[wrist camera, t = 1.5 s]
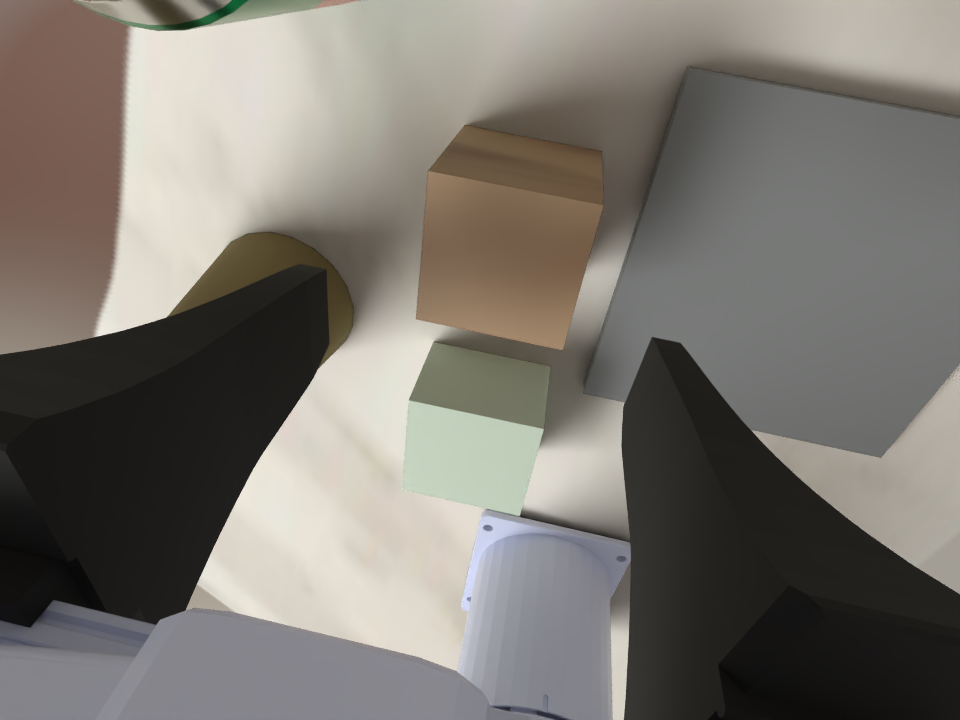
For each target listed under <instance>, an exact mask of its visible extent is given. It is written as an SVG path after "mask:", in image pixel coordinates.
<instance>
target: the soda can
mask: <svg viewBox="0 0 960 720" xmlns="http://www.w3.org/2000/svg"><path fill="white" fill-rule="evenodd" d="M72 1H74V2H76V3H78V4H80V5H82V6H84V7H86V8H87V9H89V10H91V11H93V12H95V13H97V14H99V15H101V16H103V17H106V18H109V19H111V20H114V21H117V22H120V23H123V24H126V25H128V26H133V27H139V28H144V29H150V30H156V31H174V30H190V29H196V28H202V27H208V26H214V25H220V24H226V23H232V22H238V21H244V20H250V19H256V18H262V17H268V16H274V15H280V14H286V13H292V12H298V11H304V10H310V9H316V8H322V7H328V6H334V5H340V4H346V3H352V2H358V1H364V0H72Z"/></svg>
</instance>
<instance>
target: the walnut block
mask: <svg viewBox="0 0 960 720" xmlns="http://www.w3.org/2000/svg"><path fill="white" fill-rule="evenodd" d="M603 206H604V200H603V171H602V151H597V150H592V149H586V148H581V147H576V146H571V145H566V144H560V143H555V142H550V141H545V140H540V139H534V138H529V137H524V136H519V135H514V134H509V133H503V132H498V131H493V130H488V129H483V128H477V127H472V126H467V125H465V126H464V127H463V128H462V130H461V131H460V132H459V133H458V134H457V136H456V137H455V138H454V139H453V141H452V142H451V143H450V144H449V146H448V147H447V148H446V149H445V151H444V152H443V153H442V154H441V156H440V157H439V158H438V159H437V161H436V162H435V163H434V164H433V166H432V167H431V168H430V169H429V171H428V179H427V191H426V204H425V216H424V228H423V240H422V252H421V264H420V276H419V288H418V301H417V313H416V319H418V320H422V321H427V322H432V323H436V324H441V325H446V326H451V327H455V328H460V329H465V330H469V331H474V332H479V333H483V334H488V335H493V336H498V337H502V338H507V339H512V340H516V341H521V342H526V343H531V344H535V345H540V346H545V347H549V348H554V349H559V350H563V347H564V344H565V340H566V337H567V333H568V330H569V326H570V323H571V319H572V316H573V312H574V309H575V305H576V301H577V298H578V294H579V291H580V287H581V284H582V280H583V277H584V273H585V270H586V266H587V263H588V259H589V256H590V252H591V249H592V245H593V241H594V238H595V234H596V231H597V227H598V224H599V220H600V217H601V213H602V210H603Z"/></svg>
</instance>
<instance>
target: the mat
mask: <svg viewBox="0 0 960 720" xmlns="http://www.w3.org/2000/svg"><path fill="white" fill-rule="evenodd" d="M652 337H655V338H660V339H665V340H670V341H675V342H679V343H681V344H682V345H683V346H684V348H685V349H686V350H687V351H688V353H689V354H690V355H691V356H692V358H693V359H694V360H695V362H696V363H697V364H698V366H699V367H700V368H701V370H702V371H703V372H704V374H705V375H706V376H707V378H708V379H709V380H710V382H711V383H712V384H713V385H714V387H715V388H716V389H717V391H718V392H719V393H720V394H721V396H722V397H723V398H724V399H725V401H726V402H727V403H728V404H729V406H730V407H731V408H732V409H733V410H734V412H735V413H736V414H737V415H738V416H739V417H740V419H741V420H742V421H743V422H744V423H745V424H746V425H747V426H748V428H749V429H750V430H755V431H760V432H764V433H769V434H773V435H778V436H783V437H787V438H792V439H797V440H801V441H806V442H810V443H815V444H820V445H824V446H829V447H833V448H838V449H843V450H847V451H852V452H857V453H861V454H866V455H870V456H875V457H880V458H881V457H882V456H883V455H884V454H885V452H886V451H887V450H888V449H889V448H890V446H891V445H892V444H893V443H894V442H895V440H896V439H897V438H898V437H899V436H900V434H901V433H902V432H903V431H904V430H905V428H906V427H907V426H908V425H909V424H910V422H911V421H912V420H913V419H914V418H915V416H916V415H917V414H918V413H919V412H920V410H921V409H922V408H923V407H924V406H925V404H926V403H927V402H928V401H929V400H930V398H931V397H932V396H933V395H934V394H935V392H936V391H937V390H938V389H939V388H940V386H941V385H942V384H943V383H944V382H945V380H946V379H947V378H948V377H949V376H950V374H951V373H952V372H953V371H954V370H955V368H956V367H957V366H958V365H959V364H960V116H955V115H950V114H944V113H939V112H933V111H928V110H922V109H917V108H911V107H906V106H900V105H895V104H889V103H884V102H879V101H873V100H868V99H862V98H857V97H851V96H846V95H840V94H835V93H829V92H824V91H818V90H813V89H807V88H802V87H796V86H791V85H785V84H780V83H774V82H769V81H763V80H758V79H752V78H747V77H741V76H736V75H730V74H725V73H720V72H714V71H709V70H703V69H698V68H692V67H687V69H686V73H685V76H684V79H683V82H682V85H681V88H680V91H679V94H678V97H677V100H676V103H675V106H674V109H673V112H672V115H671V119H670V122H669V125H668V128H667V131H666V134H665V137H664V140H663V143H662V146H661V149H660V152H659V155H658V158H657V161H656V164H655V168H654V171H653V174H652V177H651V180H650V183H649V186H648V189H647V192H646V195H645V198H644V201H643V204H642V207H641V210H640V213H639V217H638V220H637V223H636V226H635V229H634V232H633V235H632V238H631V241H630V244H629V247H628V250H627V253H626V256H625V259H624V262H623V266H622V269H621V272H620V275H619V278H618V281H617V284H616V287H615V290H614V293H613V296H612V299H611V302H610V305H609V308H608V312H607V315H606V318H605V321H604V324H603V327H602V330H601V333H600V336H599V339H598V342H597V345H596V348H595V351H594V354H593V357H592V361H591V364H590V367H589V370H588V373H587V376H586V379H585V382H584V391H583V393H584V394H589V395H593V396H598V397H603V398H607V399H612V400H616V401H621V402H626V399H627V397H628V394H629V392H630V390H631V387H632V385H633V382H634V380H635V377H636V375H637V372H638V370H639V367H640V365H641V362H642V360H643V357H644V355H645V352H646V350H647V347H648V345H649V343H650V340H651V338H652Z"/></svg>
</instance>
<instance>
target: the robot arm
mask: <svg viewBox="0 0 960 720" xmlns="http://www.w3.org/2000/svg"><path fill="white" fill-rule="evenodd" d="M328 346H329V319H328V293H327V269H323V268H318V267H314V266H309V265H304V264H298V265H295V266H292V267H289V268H287V269H284V270H282V271H279V272H277V273H275V274H272V275H270V276H268V277H266V278H263V279H261V280H259V281H257V282H254V283H252V284H250V285H248V286H245V287H243V288H241V289H238V290H236V291H234V292H232V293H229V294H227V295H225V296H222V297H220V298H217V299H215V300H212V301H209V302H207V303H204V304H202V305H199V306H197V307H194V308H191V309H189V310H186V311H184V312H181V313H178V314H176V315H173V316H170V317H167V318H164V319H161V320H158V321H155V322H151V323H148V324H144V325H141V326H138V327H134V328H131V329H127V330H124V331H120V332H116V333H111V334H107V335H103V336H98V337H94V338H90V339H86V340H81V341H76V342H72V343H68V344H63V345H57V346H52V347H46V348H40V349H35V350H29V351H23V352H15V353H9V354H2V355H0V720H613V713H612V667H611V621H610V600H611V598H612V596H613V594H614V592H615V590H616V588H617V586H618V584H619V582H620V581H621V579H622V577H623V575H624V573H625V571H626V569H627V567H628V565H629V563H630V561H631V586H630V621H629V648H628V666H627V684H626V701H625V714H624V720H960V594H958V593H957V592H955V591H954V590H952V589H950V588H948V587H947V586H945V585H944V584H942V583H941V582H939V581H937V580H936V579H934V578H933V577H931V576H929V575H928V574H926V573H925V572H923V571H921V570H920V569H918V568H917V567H915V566H913V565H912V564H910V563H909V562H907V561H906V560H904V559H903V558H902V557H900V556H899V555H897V554H896V553H894V552H893V551H892V550H890V549H889V548H887V547H886V546H884V545H883V544H881V543H880V542H879V541H877V540H876V539H874V538H873V537H871V536H870V535H869V534H867V533H866V532H865V531H863V530H862V529H861V528H859V527H858V526H857V525H855V524H854V523H853V522H851V521H850V520H849V519H847V518H846V517H845V516H844V515H842V514H841V513H840V512H839V511H837V510H836V509H835V508H834V507H832V506H831V505H830V504H829V503H827V502H826V501H825V500H824V499H823V498H821V497H820V496H819V495H818V494H816V493H815V492H814V491H813V490H812V489H811V488H809V487H808V486H807V485H806V484H805V483H804V482H803V481H801V480H800V479H799V478H798V477H797V476H796V475H795V474H794V473H793V472H792V471H791V470H790V469H789V468H787V467H786V466H785V465H784V464H783V463H782V462H781V461H780V460H779V459H778V458H777V457H776V456H775V455H774V454H773V453H772V452H771V451H770V450H769V449H768V448H767V447H766V446H765V445H764V444H763V443H762V442H761V441H760V440H759V439H758V438H757V436H756V435H755V434H754V433H753V432H752V431H751V430H750V429H749V428H748V426H747V425H746V424H745V423H744V422H743V421H742V420H741V419H740V417H739V416H738V415H737V414H736V413H735V412H734V410H733V409H732V408H731V407H730V406H729V404H728V403H727V402H726V401H725V399H724V398H723V397H722V396H721V394H720V393H719V392H718V391H717V389H716V388H715V387H714V385H713V384H712V383H711V382H710V380H709V379H708V378H707V376H706V375H705V374H704V372H703V371H702V370H701V368H700V367H699V366H698V364H697V363H696V362H695V360H694V359H693V358H692V356H691V355H690V354H689V353H688V351H687V350H686V349H685V348H684V346H683V345H682V344H681V343H679V342H675V341H670V340H665V339H660V338H655V337H652V338H651V340H650V343H649V345H648V347H647V350H646V352H645V355H644V357H643V360H642V362H641V365H640V367H639V370H638V372H637V375H636V377H635V380H634V382H633V385H632V387H631V390H630V392H629V394H628V397H627V399H626V402H625V404H624V407H623V423H622V458H623V469H624V480H625V490H626V500H627V510H628V520H629V530H630V543H629V542H626V541H622V540H618V539H613V538H609V537H605V536H600V535H596V534H592V533H587V532H583V531H578V530H574V529H570V528H565V527H561V526H557V525H552V524H548V523H544V522H539V521H535V520H531V519H526V518H522V517H518V516H513V515H509V514H505V513H500V512H496V511H491V510H487V511H484V512H482V514H481V518H480V522H479V527H478V531H477V536H476V540H475V545H474V549H473V554H472V558H471V563H470V567H469V572H468V576H467V581H466V585H465V590H464V594H463V599H462V603H461V608H462V609H463V610H464V611H466V612H468V617H467V622H466V627H465V632H464V637H463V642H462V647H461V652H460V657H459V662H458V667H457V671H454V670H451V669H449V668H446V667H443V666H441V665H438V664H435V663H433V662H430V661H427V660H425V659H422V658H419V657H416V656H412V655H407V654H403V653H399V652H395V651H391V650H387V649H383V648H378V647H374V646H370V645H366V644H362V643H358V642H354V641H350V640H345V639H341V638H337V637H333V636H329V635H325V634H321V633H316V632H312V631H308V630H304V629H300V628H296V627H292V626H287V625H283V624H279V623H275V622H271V621H267V620H263V619H259V618H254V617H250V616H246V615H242V614H238V613H234V612H229V611H219V610H210V609H200V608H192V609H190V610H187V611H185V610H186V608H187V605H188V603H189V601H190V598H191V596H192V594H193V591H194V589H195V587H196V585H197V582H198V580H199V578H200V576H201V574H202V572H203V569H204V567H205V565H206V563H207V561H208V558H209V556H210V554H211V552H212V550H213V547H214V545H215V543H216V541H217V539H218V537H219V535H220V533H221V531H222V529H223V527H224V525H225V523H226V521H227V519H228V517H229V515H230V513H231V511H232V509H233V507H234V505H235V503H236V501H237V499H238V497H239V495H240V493H241V491H242V489H243V487H244V486H245V484H246V482H247V480H248V478H249V476H250V474H251V472H252V470H253V468H254V467H255V465H256V464H257V462H258V460H259V459H260V457H261V455H262V454H263V452H264V451H265V449H266V448H267V446H268V445H269V443H270V442H271V440H272V439H273V437H274V436H275V435H276V433H277V432H278V430H279V429H280V427H281V426H282V424H283V423H284V421H285V420H286V418H287V417H288V415H289V414H290V413H291V411H292V410H293V408H294V407H295V405H296V404H297V402H298V401H299V399H300V398H301V396H302V395H303V393H304V392H305V390H306V389H307V387H308V386H309V384H310V383H311V381H312V379H313V378H314V376H315V374H316V372H317V370H318V368H319V366H320V364H321V361H322V359H323V357H324V355H325V353H326V350H327V348H328Z"/></svg>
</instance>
